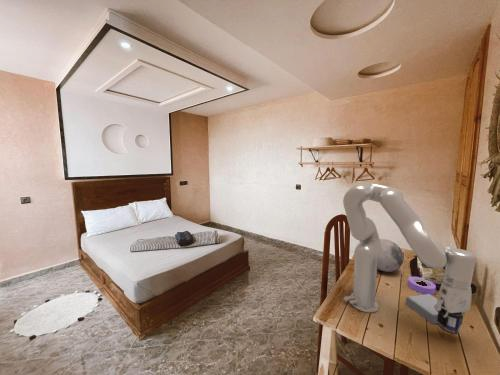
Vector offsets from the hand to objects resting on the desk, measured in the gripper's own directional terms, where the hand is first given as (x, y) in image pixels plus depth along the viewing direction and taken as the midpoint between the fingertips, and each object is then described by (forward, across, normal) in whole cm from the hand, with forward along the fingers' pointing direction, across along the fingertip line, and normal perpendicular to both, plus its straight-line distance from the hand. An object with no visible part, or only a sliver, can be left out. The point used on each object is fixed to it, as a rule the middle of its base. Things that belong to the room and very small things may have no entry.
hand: (449, 322), depth 82 cm
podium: (+7, +8, +13) cm, 17 cm away
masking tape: (+7, +21, +29) cm, 37 cm away
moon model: (+8, +16, +50) cm, 53 cm away
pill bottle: (+3, 0, 0) cm, 3 cm away
